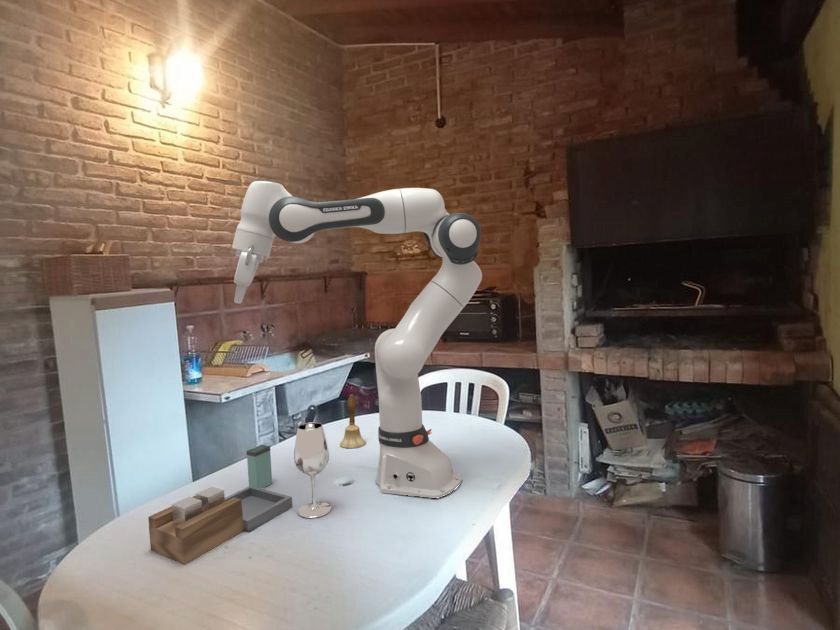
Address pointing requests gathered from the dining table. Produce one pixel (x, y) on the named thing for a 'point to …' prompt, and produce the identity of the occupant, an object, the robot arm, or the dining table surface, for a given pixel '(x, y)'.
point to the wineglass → (311, 463)
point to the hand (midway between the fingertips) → (238, 301)
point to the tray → (260, 505)
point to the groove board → (195, 531)
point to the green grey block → (259, 466)
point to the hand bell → (352, 428)
